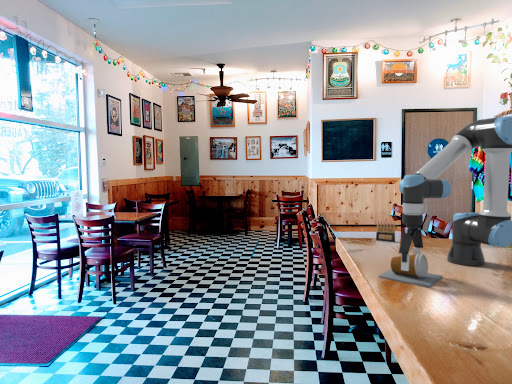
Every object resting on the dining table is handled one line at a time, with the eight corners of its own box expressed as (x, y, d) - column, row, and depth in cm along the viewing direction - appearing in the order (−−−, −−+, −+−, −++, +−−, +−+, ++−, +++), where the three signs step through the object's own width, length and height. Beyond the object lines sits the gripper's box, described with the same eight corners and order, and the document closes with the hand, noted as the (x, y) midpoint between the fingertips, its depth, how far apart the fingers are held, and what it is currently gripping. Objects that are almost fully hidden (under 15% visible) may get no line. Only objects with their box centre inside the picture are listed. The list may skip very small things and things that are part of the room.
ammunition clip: (395, 241, 218) (395, 221, 218) (394, 242, 217) (395, 221, 216) (376, 239, 223) (376, 220, 223) (375, 240, 222) (376, 220, 221)
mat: (394, 268, 161) (394, 267, 161) (442, 277, 148) (442, 275, 148) (378, 277, 148) (378, 275, 148) (429, 287, 135) (429, 285, 135)
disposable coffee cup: (400, 266, 157) (430, 267, 149) (393, 281, 151) (424, 283, 143) (393, 248, 154) (423, 248, 146) (386, 263, 148) (417, 263, 140)
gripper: (413, 210, 158) (411, 259, 160) (391, 216, 139) (389, 271, 141) (432, 211, 153) (430, 262, 155) (411, 217, 134) (409, 275, 136)
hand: (410, 266), depth 148 cm, fingers open, 13 cm apart
